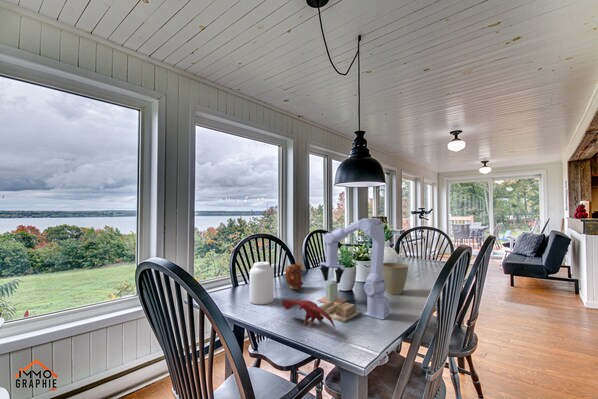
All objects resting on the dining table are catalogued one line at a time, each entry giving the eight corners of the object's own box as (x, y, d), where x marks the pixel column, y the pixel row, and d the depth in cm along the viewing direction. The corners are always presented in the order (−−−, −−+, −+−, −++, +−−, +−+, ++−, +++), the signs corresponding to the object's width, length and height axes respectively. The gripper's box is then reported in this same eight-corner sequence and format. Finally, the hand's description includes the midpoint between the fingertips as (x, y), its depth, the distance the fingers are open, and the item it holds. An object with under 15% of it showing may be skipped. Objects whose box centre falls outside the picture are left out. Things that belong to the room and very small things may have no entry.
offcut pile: (355, 312, 135) (355, 304, 135) (345, 317, 128) (345, 309, 128) (346, 309, 138) (346, 302, 138) (335, 315, 132) (335, 307, 132)
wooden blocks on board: (360, 313, 136) (360, 306, 136) (344, 322, 126) (344, 315, 126) (331, 305, 147) (331, 299, 147) (314, 313, 136) (314, 306, 136)
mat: (346, 300, 154) (346, 299, 154) (334, 306, 146) (334, 304, 146) (329, 296, 162) (329, 295, 162) (317, 301, 153) (317, 300, 153)
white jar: (244, 302, 152) (244, 263, 152) (258, 296, 163) (258, 259, 163) (264, 306, 146) (264, 266, 146) (278, 299, 157) (278, 261, 157)
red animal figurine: (290, 324, 134) (272, 305, 127) (300, 307, 139) (284, 287, 132) (339, 345, 114) (322, 324, 107) (349, 324, 119) (334, 302, 112)
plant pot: (412, 296, 160) (412, 267, 161) (385, 296, 161) (384, 267, 161) (403, 289, 175) (403, 262, 175) (378, 289, 176) (378, 262, 176)
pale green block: (337, 298, 156) (337, 281, 156) (330, 301, 151) (330, 284, 151) (333, 297, 157) (333, 280, 158) (326, 300, 152) (326, 283, 152)
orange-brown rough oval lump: (294, 285, 183) (294, 261, 183) (305, 287, 179) (305, 262, 179) (280, 291, 170) (280, 265, 171) (292, 294, 166) (292, 267, 166)
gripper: (316, 255, 156) (316, 280, 156) (339, 258, 147) (339, 285, 146) (324, 253, 161) (324, 278, 161) (346, 256, 152) (347, 282, 152)
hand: (332, 281), depth 154 cm, fingers open, 7 cm apart
